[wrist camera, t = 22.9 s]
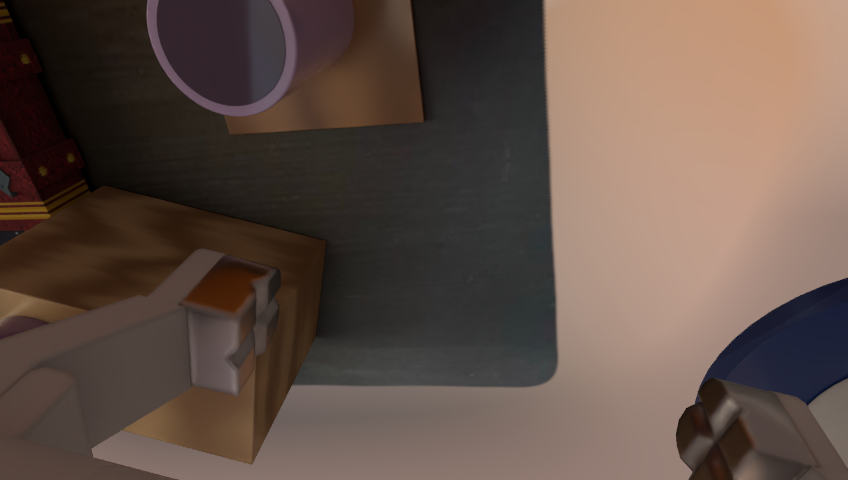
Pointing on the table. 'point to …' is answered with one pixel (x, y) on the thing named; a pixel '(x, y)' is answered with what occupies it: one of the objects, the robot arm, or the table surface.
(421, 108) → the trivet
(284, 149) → the table surface
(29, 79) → the decorative book
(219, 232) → the block
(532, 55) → the table surface
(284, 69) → the lavender cup
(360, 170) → the table surface
